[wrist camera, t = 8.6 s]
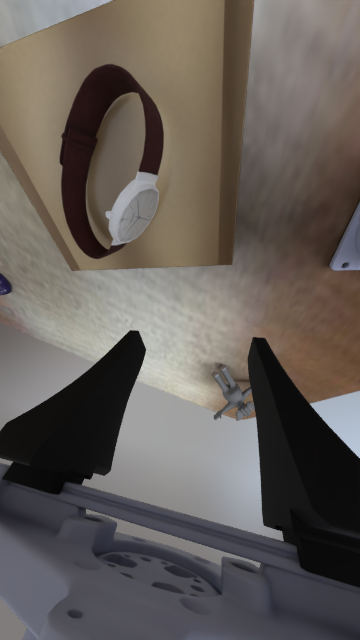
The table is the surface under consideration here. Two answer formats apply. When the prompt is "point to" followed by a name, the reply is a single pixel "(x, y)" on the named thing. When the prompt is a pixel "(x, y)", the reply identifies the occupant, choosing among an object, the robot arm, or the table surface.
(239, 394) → the gray toy figurine
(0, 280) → the toy lamp
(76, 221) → the watch
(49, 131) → the shelf
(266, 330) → the table surface
